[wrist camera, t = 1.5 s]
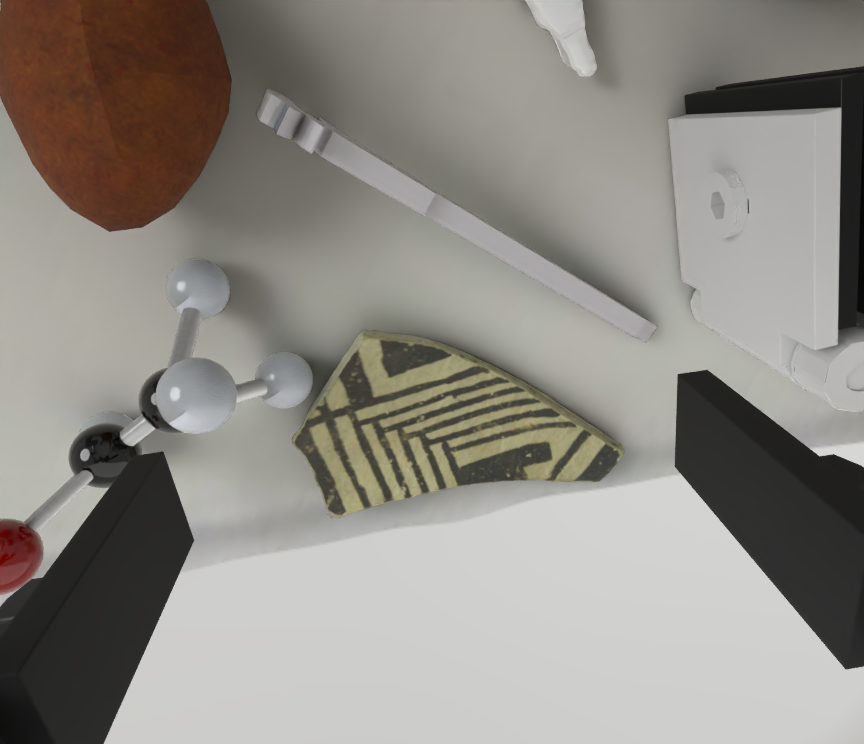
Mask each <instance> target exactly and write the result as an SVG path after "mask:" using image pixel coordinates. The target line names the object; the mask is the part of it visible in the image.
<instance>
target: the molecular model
mask: <svg viewBox="0 0 864 744" xmlns="http://www.w3.org/2000/svg"><path fill="white" fill-rule="evenodd" d="M166 295H167V298H168V301H169V303H170V304H171V306H172V307H173V308H174V309H175V310H176V311H177V312H178V313H180V314H181V319H180V323H179V326H178V330H177V334H176V338H175V341H174V345H173V349H172V353H171V357H170V360H169V364H168V368H165V369H162V370H159V371H157V372H156V373H154V374H152V375H151V376H150V377H149V378H148V379H147V380H146V381H145V383H144V384H143V386H142V388H141V390H140V394H139V408H140V411H141V415H140V416H139V417H137V418H136V419H135V420H134V421H133V420H132V419H131V418H130V417H129V416H127V415H125V414H122V413H119V412H112V411H110V412H102V413H99V414H96V415H94V416H93V417H91V418H90V419H88V420H87V421H86V422H85V423H84V425H83V426H82V428H81V429H80V432H79V435H78V436H77V437H76V438H75V439H74V441H73V443H72V445H71V447H70V450H69V464H70V468H71V470H72V472H73V473H74V476H73V477H72V478H71V479H70V480H69V481H68V482H66V483H65V484H64V485H63V486H62V487H61V488H60V489H59V490H58V491H57V492H56V493H55V494H54V495H52V496H51V497H50V498H49V499H48V500H47V501H46V502H45V503H44V504H43V505H42V506H41V507H39V508H38V509H37V510H36V511H35V512H34V513H33V514H32V515H31V516H30V517H29V518H28V519H27V520H25V521H24V522H22V521H19V520H15V519H0V595H3V594H7V593H10V592H12V591H15V590H17V589H18V588H20V587H22V586H23V585H25V584H26V583H27V582H28V581H29V580H31V578H32V577H33V576H34V575H35V574H36V572H37V571H38V569H39V567H40V565H41V563H42V560H43V554H44V547H43V542H42V540H41V537H40V535H39V534H38V533H37V532H38V531H39V530H40V529H41V528H42V527H43V526H44V525H45V524H46V523H47V522H49V521H50V520H51V519H52V518H53V517H54V516H55V515H56V514H57V513H58V512H59V511H60V510H61V509H62V508H63V507H64V506H65V505H66V504H67V503H68V502H69V501H71V500H72V499H73V498H74V497H75V496H76V495H77V494H78V493H79V492H80V491H81V490H82V489H83V488H84V487H85V486H86V485H89V486H92V487H97V488H109V487H110V486H111V485H112V484H113V482H114V481H115V479H116V478H117V477H118V475H119V474H120V473H121V471H122V470H123V469H124V467H125V466H126V465H127V463H128V462H129V461H130V459H131V458H132V456H137V455H142V449H141V445H140V441H141V440H142V439H143V438H144V437H146V436H147V435H148V434H149V433H151V432H152V431H153V430H155V429H157V430H159V431H162V432H165V433H173V434H175V433H183V432H186V433H192V434H200V433H206V432H209V431H212V430H214V429H216V428H218V427H220V426H221V425H222V424H224V423H225V422H226V421H227V420H228V419H229V417H230V416H231V414H232V413H233V411H234V408H235V406H236V404H238V403H241V402H244V401H247V400H251V399H254V398H257V397H261V398H262V399H263V400H264V401H265V402H266V403H268V404H269V405H271V406H273V407H276V408H292V407H295V406H297V405H299V404H300V403H302V402H303V401H304V400H305V399H306V398H307V397H308V396H309V394H310V392H311V390H312V386H313V374H312V371H311V368H310V366H309V365H308V363H307V362H306V361H305V360H304V359H303V358H302V357H300V356H298V355H296V354H294V353H290V352H278V353H275V354H272V355H270V356H268V357H267V358H266V359H264V360H263V361H262V362H261V364H260V365H259V367H258V369H257V371H256V375H255V380H252V381H248V382H245V383H241V384H238V385H235V382H234V380H233V378H232V376H231V375H230V373H229V372H228V371H227V370H226V369H225V368H224V367H223V366H222V365H220V364H219V363H217V362H215V361H212V360H209V359H205V358H192V355H193V351H194V346H195V342H196V338H197V334H198V330H199V326H200V322H201V320H203V319H208V318H211V317H214V316H216V315H217V314H219V313H220V312H221V311H222V310H223V309H224V308H225V306H226V305H227V303H228V300H229V297H230V284H229V281H228V278H227V276H226V275H225V273H224V272H223V271H222V269H221V268H220V267H218V266H217V265H216V264H214V263H212V262H210V261H207V260H204V259H189V260H185V261H183V262H181V263H179V264H178V265H176V266H175V267H174V268H173V269H172V270H171V272H170V273H169V275H168V277H167V280H166Z"/></svg>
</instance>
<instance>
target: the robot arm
mask: <svg viewBox="0 0 864 744" xmlns="http://www.w3.org/2000/svg"><path fill="white" fill-rule="evenodd" d="M675 467H676V469H677V470H678V471H679V472H680V473H681V474H682V476H683V477H684V478H685V479H686V480H687V481H688V483H689V484H690V485H691V486H692V488H693V489H694V490H695V491H696V492H697V493H698V495H699V496H700V497H701V498H702V499H703V501H704V502H705V503H706V504H707V505H708V506H709V508H710V509H711V510H712V511H713V512H714V514H715V515H716V516H717V517H718V518H719V520H720V521H721V522H722V523H723V524H724V526H725V527H726V528H727V529H728V530H729V531H730V533H731V534H732V535H733V536H734V537H735V539H736V540H737V541H738V542H739V543H740V544H741V546H742V547H743V548H744V549H745V550H746V552H747V553H748V554H749V555H750V556H751V558H752V559H753V560H754V561H755V562H756V563H757V565H758V566H759V567H760V568H761V569H762V571H763V572H764V573H765V574H766V575H767V576H768V578H769V579H770V580H771V581H772V582H773V584H774V585H775V586H776V587H777V588H778V589H779V591H780V592H781V593H782V594H783V595H784V597H785V598H786V599H787V600H788V601H789V602H790V604H791V605H792V606H793V607H794V608H795V610H796V611H797V612H798V613H799V615H800V616H801V617H802V618H803V619H804V620H805V621H806V623H807V624H808V625H809V626H810V628H811V629H812V630H813V631H814V632H815V633H816V635H817V636H818V637H819V638H820V639H821V641H822V642H823V643H824V644H825V645H826V646H827V648H828V649H829V650H830V651H831V652H832V654H833V655H834V656H835V657H836V658H837V660H838V661H839V662H840V663H841V664H842V665H843V667H844V668H845V669H851V668H857V667H863V666H864V467H862V466H860V465H858V464H856V463H853V462H851V461H848V460H846V459H844V458H841V457H839V456H836V455H834V454H833V455H827V456H820V457H819V456H818V455H817V454H816V453H814V452H813V451H812V450H810V449H809V448H808V447H807V446H805V445H804V444H803V443H801V442H800V441H799V440H798V439H796V438H795V437H794V436H792V435H791V434H790V433H788V432H787V431H786V430H785V429H783V428H782V427H781V426H779V425H778V424H777V423H775V422H774V421H773V420H772V419H770V418H769V417H768V416H766V415H765V414H764V413H763V412H761V411H760V410H759V409H757V408H756V407H755V406H753V405H752V404H751V403H750V402H748V401H747V400H746V399H744V398H743V397H742V396H740V395H739V394H738V393H737V392H735V391H734V390H733V389H731V388H730V387H729V386H727V385H726V384H725V383H724V382H722V381H721V380H720V379H718V378H717V377H716V376H715V375H713V374H712V373H711V372H709V371H708V370H703V371H697V372H690V373H683V374H678V384H677V415H676V447H675ZM193 542H194V539H193V536H192V533H191V530H190V527H189V524H188V521H187V518H186V516H185V513H184V510H183V507H182V504H181V501H180V498H179V495H178V493H177V490H176V487H175V484H174V481H173V478H172V475H171V472H170V470H169V467H168V464H167V461H166V458H165V455H164V452H157V453H151V454H144V455H137V456H132V458H131V459H130V461H129V462H128V463H127V465H126V466H125V467H124V469H123V470H122V471H121V473H120V474H119V475H118V477H117V478H116V479H115V481H114V482H113V484H112V485H111V486H110V488H109V489H108V490H107V492H106V493H105V494H104V496H103V497H102V498H101V500H100V501H99V502H98V504H97V505H96V507H95V508H94V509H93V511H92V512H91V513H90V515H89V516H88V517H87V519H86V520H85V521H84V523H83V524H82V525H81V527H80V528H79V530H78V531H77V532H76V534H75V535H74V536H73V538H72V539H71V540H70V542H69V543H68V544H67V546H66V547H65V548H64V550H63V551H62V553H61V554H60V555H59V557H58V558H57V559H56V561H55V562H54V563H53V565H52V566H51V567H50V569H49V570H48V571H47V573H46V574H45V576H44V577H43V578H37V579H31V580H30V581H28V582H27V583H26V584H25V585H24V586H22V587H21V588H20V589H19V590H17V591H16V592H15V593H14V594H12V595H11V596H10V597H9V598H8V599H6V601H5V602H4V603H3V604H2V606H1V607H0V744H104V741H105V739H106V737H107V735H108V732H109V730H110V728H111V726H112V723H113V721H114V719H115V717H116V714H117V712H118V710H119V708H120V705H121V703H122V701H123V699H124V696H125V694H126V692H127V689H128V687H129V685H130V683H131V681H132V678H133V676H134V674H135V672H136V670H137V667H138V665H139V663H140V660H141V658H142V656H143V654H144V651H145V649H146V647H147V645H148V643H149V640H150V638H151V636H152V634H153V631H154V629H155V627H156V624H157V622H158V620H159V618H160V616H161V613H162V611H163V609H164V607H165V604H166V602H167V600H168V598H169V595H170V593H171V591H172V589H173V586H174V584H175V582H176V580H177V577H178V575H179V573H180V571H181V569H182V566H183V564H184V562H185V560H186V557H187V555H188V553H189V551H190V548H191V546H192V544H193Z"/></svg>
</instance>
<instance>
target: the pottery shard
mask: <svg viewBox="0 0 864 744" xmlns="http://www.w3.org/2000/svg"><path fill="white" fill-rule="evenodd" d="M292 444H293V445H294V446H295V447H296V448H297V449H298V450H299V451H300V452H301V453H302V455H303V456H304V457H305V459H306V460H307V462H308V463H309V465H310V467H311V469H312V471H313V473H314V476H315V479H316V482H317V484H318V486H319V488H320V490H321V493H322V495H323V499H324V502H325V506H326V509H327V512H328V515H329V517H330V518H341V517H344V516H346V515H348V514H351V513H354V512H356V511H359V510H362V509H366V508H370V507H373V506H376V505H382V504H385V503H388V502H391V501H399V500H405V499H409V498H412V497H413V496H416V495H421V494H427V493H430V492H435V491H440V490H444V489H447V488H452V487H457V486H465V485H471V484H481V483H495V482H500V481H514V480H546V481H561V482H573V481H580V482H597V481H600V480H601V479H602V478H604V477H605V476H606V475H607V474H608V473H609V472H610V470H611V469H612V468H613V467H614V466H615V465H616V464H617V462H618V461H619V460H620V458H621V457H622V456H623V454H624V447H623V446H622V445H621V444H619V443H617V442H616V441H614V440H612V439H611V438H609V437H608V436H606V435H605V434H604V433H603V432H601V431H600V430H599V429H597V428H596V427H594V426H592V425H591V424H589V423H587V422H586V421H584V420H583V419H582V418H580V417H578V416H577V415H575V414H574V413H572V412H571V411H569V410H568V409H567V408H565V407H563V406H562V405H560V404H559V403H557V402H556V401H554V400H553V399H551V398H550V397H549V396H548V395H546V394H544V393H542V392H540V391H538V390H537V389H535V388H533V387H532V386H530V385H529V384H527V383H525V382H523V381H522V380H520V379H517V378H515V377H513V376H512V375H510V374H508V373H506V372H505V371H503V370H501V369H499V368H497V367H495V366H493V365H491V364H488V363H485V362H483V361H481V360H480V359H478V358H476V357H474V356H472V355H470V354H468V353H465V352H463V351H461V350H459V349H455V348H453V347H450V346H448V345H445V344H442V343H439V342H436V341H433V340H431V339H427V338H422V337H418V336H412V335H407V334H392V333H385V332H379V331H375V330H372V331H370V330H362V331H361V332H360V333H359V334H358V336H357V337H356V338H355V340H354V342H353V344H352V346H351V347H350V348H349V350H348V351H347V352H346V354H345V355H344V356H343V358H342V360H341V361H340V363H339V365H338V367H337V368H336V369H335V371H334V372H333V374H332V375H331V377H330V378H329V380H328V381H327V383H326V384H325V386H324V387H323V389H322V390H321V392H320V393H319V395H318V396H317V398H316V400H315V401H314V403H313V404H312V406H311V407H310V409H309V411H308V414H307V417H306V419H305V421H304V423H303V425H302V426H301V427H300V429H299V430H298V431H297V433H296V434H295V435H294V436H293V438H292Z"/></svg>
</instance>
